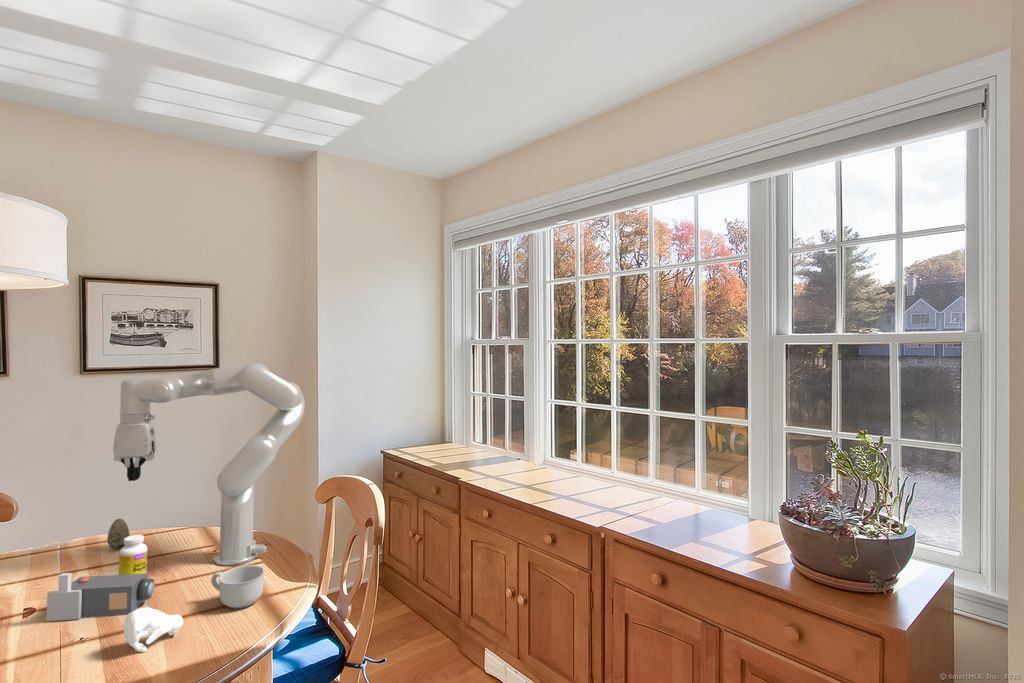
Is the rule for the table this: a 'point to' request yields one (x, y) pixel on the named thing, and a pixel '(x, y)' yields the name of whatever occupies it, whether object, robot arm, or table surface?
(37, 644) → the table surface
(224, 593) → the teacup
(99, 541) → the table surface
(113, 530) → the decorative egg
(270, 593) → the table surface
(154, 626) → the white figurine
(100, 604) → the camera body
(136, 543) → the supplement bottle
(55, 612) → the grey t-shaped piece
